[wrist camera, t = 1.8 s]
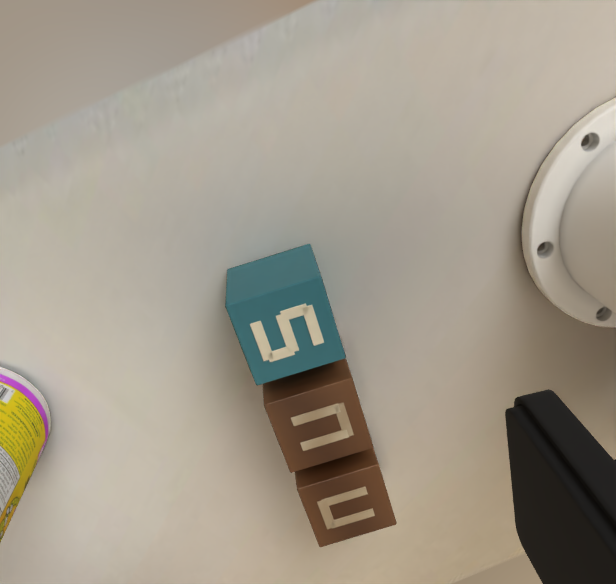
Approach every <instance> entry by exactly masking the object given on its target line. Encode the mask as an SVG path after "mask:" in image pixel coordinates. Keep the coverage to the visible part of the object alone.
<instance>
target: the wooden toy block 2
mask: <svg viewBox="0 0 616 584" xmlns="http://www.w3.org/2000/svg"><path fill="white" fill-rule="evenodd" d="M295 477H296V485H297V490H298V493H299V496H300V498H301V501H302V503H303V506H304V508H305V511H306V513H307V516H308V518H309V521H310V524H311V526H312V529H313V531H314V534H315V536H316V539H317V541H318V544H319V546H320V547H323V546H326V545H329V544H333V543H336V542H339V541H343V540H346V539H349V538H353V537H356V536H359V535H363V534H366V533H369V532H373V531H376V530H379V529H382V528H386V527H389V526H392V525H396V519H395V516H394V513H393V510H392V506H391V503H390V500H389V497H388V493H387V490H386V487H385V483H384V480H383V477H382V474H381V470H380V467H379V464H378V461H377V458H376V455H375V451H374V448H371V449H368V450H364V451H361V452H358V453H354V454H351V455H348V456H345V457H341V458H338V459H335V460H331V461H328V462H325V463H322V464H318V465H315V466H312V467H308V468H305V469H302V470H299V471H295Z"/></svg>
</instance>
